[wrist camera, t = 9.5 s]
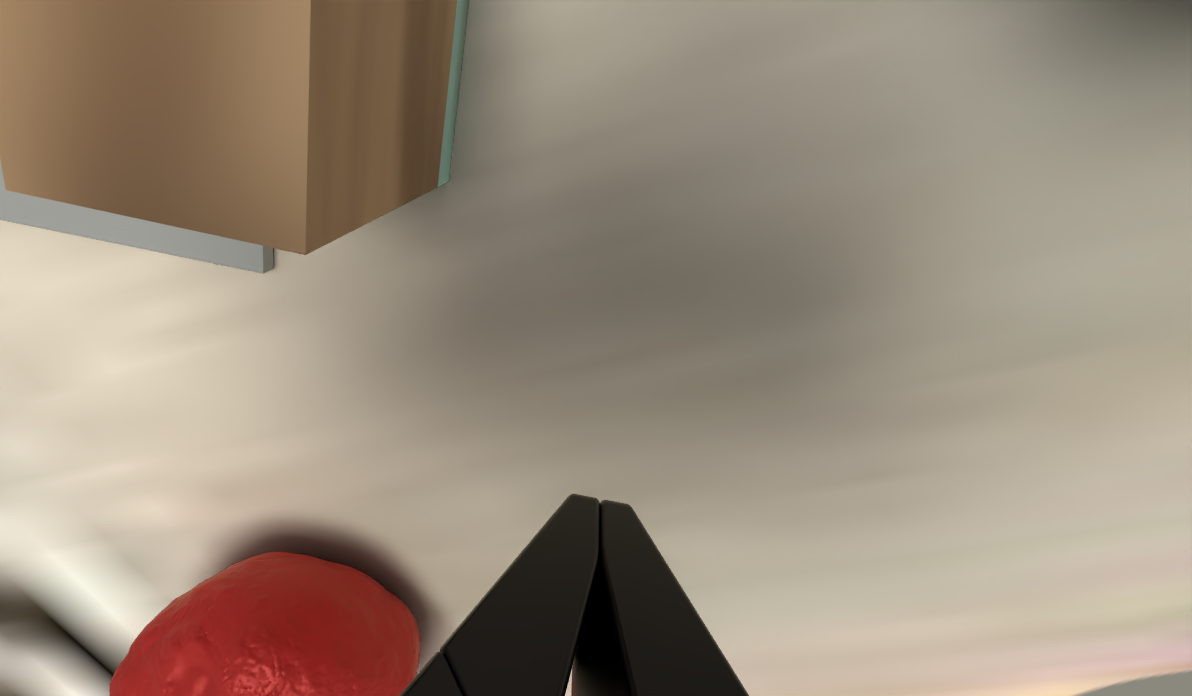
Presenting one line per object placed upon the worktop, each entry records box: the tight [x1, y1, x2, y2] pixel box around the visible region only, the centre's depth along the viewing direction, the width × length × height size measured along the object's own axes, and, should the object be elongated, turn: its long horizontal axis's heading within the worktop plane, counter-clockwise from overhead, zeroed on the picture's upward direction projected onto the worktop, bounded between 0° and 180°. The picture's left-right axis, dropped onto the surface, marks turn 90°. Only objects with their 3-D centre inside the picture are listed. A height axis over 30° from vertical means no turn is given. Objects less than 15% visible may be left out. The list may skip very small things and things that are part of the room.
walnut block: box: [0, 0, 469, 255], centre depth 13 cm, size 5×6×9 cm
